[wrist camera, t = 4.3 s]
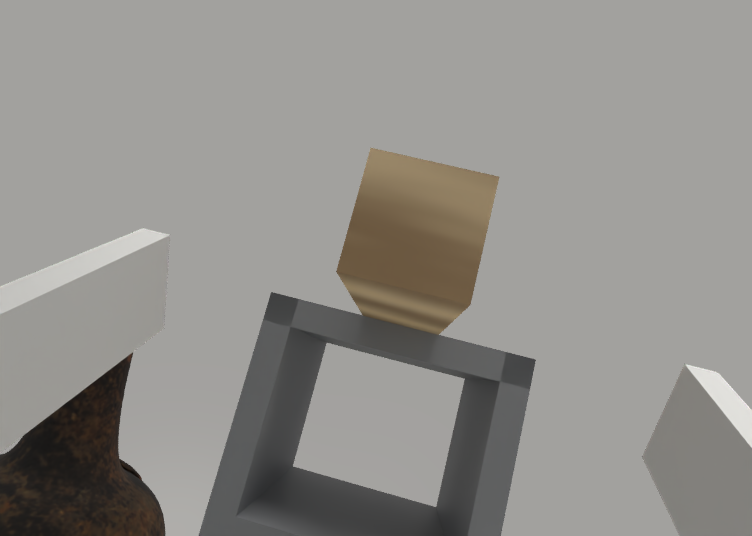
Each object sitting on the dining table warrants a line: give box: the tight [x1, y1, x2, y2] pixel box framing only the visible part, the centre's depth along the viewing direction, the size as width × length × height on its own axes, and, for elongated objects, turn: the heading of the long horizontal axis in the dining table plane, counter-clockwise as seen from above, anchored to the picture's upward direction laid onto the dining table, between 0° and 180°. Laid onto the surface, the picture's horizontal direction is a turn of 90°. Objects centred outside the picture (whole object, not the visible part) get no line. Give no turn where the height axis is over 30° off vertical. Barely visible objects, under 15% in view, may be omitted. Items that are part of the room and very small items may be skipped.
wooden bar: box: [336, 148, 499, 335], centre depth 30 cm, size 30×4×4 cm, turn 178°
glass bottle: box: [0, 352, 165, 536], centre depth 42 cm, size 18×18×28 cm
